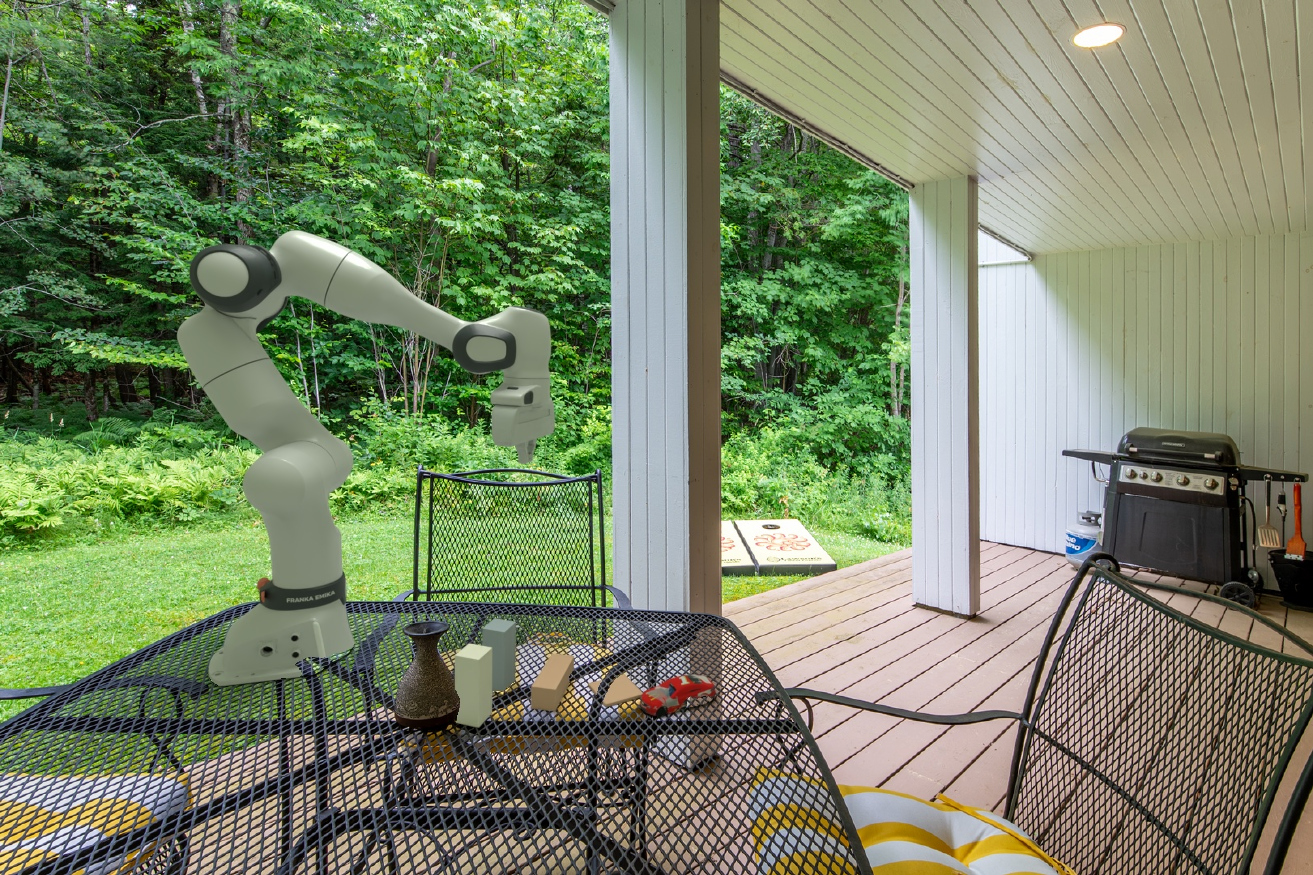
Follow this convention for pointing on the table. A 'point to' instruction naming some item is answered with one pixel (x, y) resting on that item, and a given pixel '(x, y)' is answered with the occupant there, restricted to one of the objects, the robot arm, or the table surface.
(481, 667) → the cream post
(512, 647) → the slate post
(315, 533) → the robot arm
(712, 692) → the race car
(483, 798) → the table surface
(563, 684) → the tan rectangular block
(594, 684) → the tile
